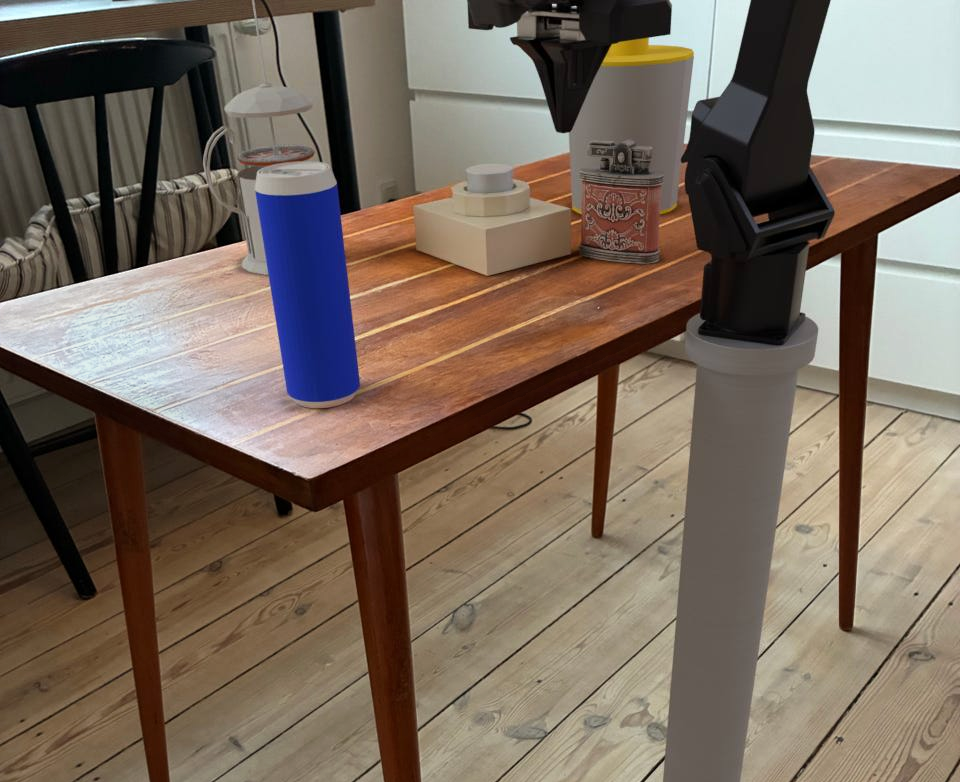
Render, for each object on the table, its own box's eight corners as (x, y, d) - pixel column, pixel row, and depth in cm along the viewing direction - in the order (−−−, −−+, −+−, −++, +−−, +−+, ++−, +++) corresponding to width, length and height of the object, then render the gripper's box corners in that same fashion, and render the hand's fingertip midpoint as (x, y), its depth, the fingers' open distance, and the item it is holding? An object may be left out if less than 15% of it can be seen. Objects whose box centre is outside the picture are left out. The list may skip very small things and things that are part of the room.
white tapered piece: (576, 190, 120) (579, -26, 108) (690, 192, 117) (706, -31, 105) (552, 219, 110) (551, -16, 98) (676, 222, 107) (691, -20, 95)
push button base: (571, 254, 100) (571, 187, 96) (487, 276, 95) (484, 207, 91) (496, 230, 108) (494, 168, 104) (416, 250, 103) (411, 185, 100)
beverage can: (372, 385, 75) (348, 161, 66) (342, 413, 71) (312, 179, 62) (308, 379, 76) (276, 159, 68) (275, 406, 72) (236, 177, 64)
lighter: (665, 256, 98) (672, 140, 92) (649, 266, 95) (656, 147, 90) (589, 246, 101) (591, 134, 95) (572, 255, 99) (573, 141, 93)
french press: (354, 264, 100) (318, -47, 85) (234, 284, 96) (176, -37, 82) (326, 241, 107) (289, -49, 93) (214, 258, 104) (157, -40, 89)
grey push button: (522, 191, 98) (522, 168, 96) (485, 199, 96) (484, 176, 94) (495, 184, 100) (494, 161, 99) (457, 192, 98) (456, 168, 97)
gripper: (406, -89, 80) (421, 132, 89) (560, -95, 68) (560, 164, 77) (520, -96, 85) (524, 114, 94) (683, -103, 73) (669, 141, 82)
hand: (563, 132), depth 87 cm, fingers closed
